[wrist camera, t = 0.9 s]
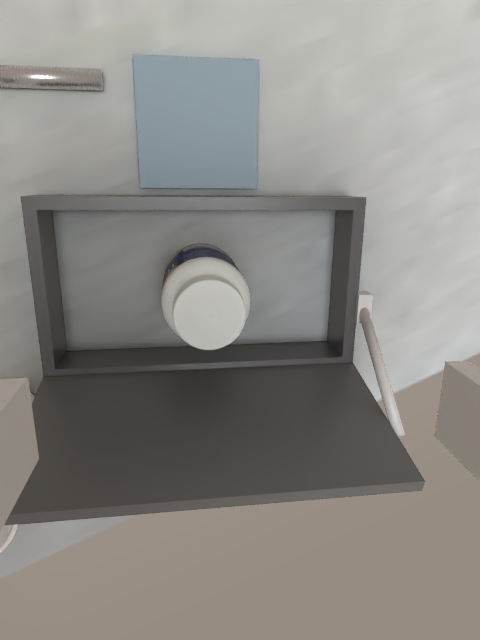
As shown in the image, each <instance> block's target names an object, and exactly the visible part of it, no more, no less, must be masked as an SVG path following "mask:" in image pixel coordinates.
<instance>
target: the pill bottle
mask: <svg viewBox="0 0 480 640" xmlns="http://www.w3.org/2000/svg"><path fill="white" fill-rule="evenodd" d="M250 304H251V298H250V291H249V288H248V285H247V283H246V280H245V279H244V277H243V275H242V274H241V273H240V271H239V270H238V268H237V267H236V266H235V264H234V262H233V261H232V260H231V258H230V257H229V256H228V255H227V254H226V253H225V252H223V251H222V250H220V249H218V248H216V247H214V246H211V245H206V244H195V245H191V246H188V247H186V248H183V249H182V250H180V251H179V252H177V253H176V254H175V255H174V256H173V258H172V259H171V260H170V262H169V264H168V266H167V268H166V271H165V275H164V281H163V287H162V295H161V307H162V312H163V316H164V318H165V320H166V322H167V324H168V326H169V327H170V328H171V330H172V331H173V332H174V333H175V334H176V335H178V336H179V337H180V338H182V339H183V340H184V341H185V342H186V343H188V344H189V345H191V346H193V347H196V348H198V349H203V350H215V349H220V348H222V347H225V346H227V345H229V344H230V343H232V342H233V341H234V340H235V339H236V338H237V337H238V336H239V334H240V333H241V331H242V329H243V327H244V324H245V322H246V320H247V318H248V315H249V311H250Z"/></svg>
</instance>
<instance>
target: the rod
mask: <svg viewBox="0 0 480 640" xmlns="http://www.w3.org/2000/svg"><path fill="white" fill-rule="evenodd" d="M0 87H4V88H35V89H67V90H98V91H103V76H102V71H101V69H86V68H59V67H32V66H6V65H0Z"/></svg>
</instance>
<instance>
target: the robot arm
mask: <svg viewBox="0 0 480 640" xmlns="http://www.w3.org/2000/svg"><path fill="white" fill-rule="evenodd" d="M435 437H436V438H437V439H438V440H439V441H440V442H441V443H442V444H443V445H444V446H445V447H446V448H447V449H448V450H449V451H450V452H451V453H452V454H453V455H454V456H455V457H456V458H457V459H458V460H459V462H460V463H462V465H463V466H464V467H465V468H466V469H467V470H468V471H469V472H470V473H471V474H472V475H473V476H474V477H475V478H476V479H477V480H478V481H479V482H480V369H479V368H478V367H476V366H474V365H473V364H471V363H470V362H468V361H453V362H445V368H444V374H443V381H442V389H441V395H440V402H439V409H438V415H437V422H436V429H435ZM38 460H39V454H38V447H37V439H36V432H35V425H34V418H33V410H32V403H31V396H30V389H29V381H28V378H10V379H0V532H1V530H2V528H3V526H4V524H5V522H6V520H7V518H8V517H9V515H10V513H11V511H12V509H13V507H14V505H15V503H16V501H17V500H18V498H19V496H20V494H21V492H22V490H23V488H24V486H25V484H26V483H27V481H28V479H29V477H30V475H31V473H32V471H33V469H34V467H35V466H36V464H37V462H38Z"/></svg>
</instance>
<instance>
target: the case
mask: <svg viewBox="0 0 480 640" xmlns="http://www.w3.org/2000/svg"><path fill="white" fill-rule="evenodd" d="M21 202H22V210H23V218H24V226H25V234H26V242H27V249H28V257H29V265H30V273H31V281H32V289H33V297H34V305H35V313H36V320H37V328H38V336H39V344H40V352H41V360H42V368H43V376H44V377H43V379H42V381H41V383H40V386H39V388H38V390H37V393H36V395H35V397H34V400H33V402H32V410H33V418H34V425H35V432H36V439H37V447H38V454H39V460H38V462H37V464H36V466H35V467H34V469H33V471H32V473H31V475H30V477H29V479H28V481H27V483H26V484H25V486H24V488H23V490H22V492H21V494H20V496H19V498H18V500H17V501H16V503H15V505H14V507H13V509H12V511H11V513H10V515H9V517H8V518H7V520H6V522H5V524H4V526H5V525H17V524H29V523H41V522H53V521H65V520H76V519H88V518H100V517H112V516H124V515H136V514H147V513H160V512H172V511H184V510H196V509H207V508H220V507H232V506H243V505H255V504H268V503H279V502H292V501H302V500H303V501H304V500H316V499H327V498H339V497H351V496H364V495H376V494H387V493H399V492H411V491H422V489H423V486H424V482H425V481H424V479H423V477H422V476H421V474H420V472H419V471H418V469H417V468H416V466H415V464H414V462H413V461H412V459H411V457H410V456H409V454H408V453H407V451H406V449H405V448H404V446H403V444H402V443H401V441H400V439H399V438H400V437H403V436H405V433H404V430H403V426H402V423H401V420H400V416H399V413H398V409H397V406H396V402H395V399H394V395H393V392H392V389H391V385H390V382H389V378H388V375H387V371H386V368H385V365H384V361H383V358H382V354H381V351H380V348H379V344H378V341H377V337H376V334H375V330H374V327H373V324H372V320H371V309H372V298H373V295H372V294H371V293H369V292H367V291H358V290H359V278H360V266H361V254H362V242H363V230H364V218H365V206H366V198H365V197H352V196H173V195H32V196H21ZM52 210H336V217H335V232H334V247H333V263H332V278H331V293H330V309H329V324H328V339H327V341H321V342H295V343H268V344H242V345H227V346H225V347H222V348H220V349H215V350H203V349H198V348H196V347H193V346H190V347H164V348H138V349H112V350H86V351H67V345H66V335H65V326H64V317H63V308H62V299H61V289H60V280H59V271H58V262H57V253H56V243H55V234H54V225H53V216H52ZM356 323H362V327H363V330H364V334H365V338H366V341H367V345H368V348H369V352H370V356H371V359H372V363H373V366H374V370H375V374H376V377H377V381H378V384H379V388H380V392H381V395H382V399H383V402H384V406H385V410H386V413H387V417H388V420H387V418H386V416H385V415H384V413H383V411H382V410H381V408H380V407H379V405H378V403H377V402H376V400H375V398H374V397H373V395H372V393H371V392H370V390H369V388H368V387H367V385H366V384H365V382H364V380H363V379H362V377H361V375H360V374H359V372H358V370H357V369H356V367H355V366H354V364H353V351H354V339H355V327H356Z"/></svg>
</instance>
